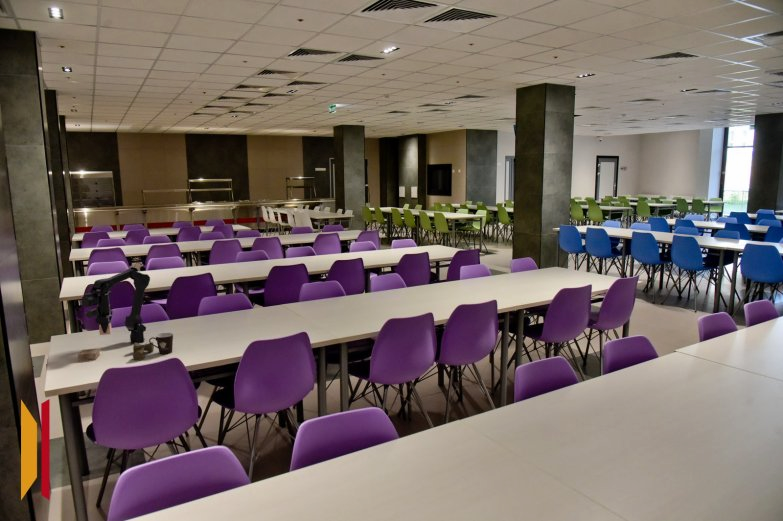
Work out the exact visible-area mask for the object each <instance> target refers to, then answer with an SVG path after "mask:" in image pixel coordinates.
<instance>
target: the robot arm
mask: <svg viewBox="0 0 783 521" xmlns="http://www.w3.org/2000/svg"><path fill="white" fill-rule="evenodd" d="M127 279H130V280H133V286H134V294H133V300H132V307H131V310H130V314H129V315H125V321H124V324H125V325H124V326H125V328H126V329H127V331H128V332H130V335H129V340H130V343H131V344H134V343H135V342H136V343H138V344H140V343H144V342H145V335H144V334H145V332H146V330H147V326H145V324H143V318H142V316H141V312H142V307H143V302H144V295H145V290H147V288H148V287H149V285H150V281H151V277H150V276H149V274H146V273H142V272H140V271H138V270H135V269H129V268H128V269H126V270H124V271H122V272H119V273H117V274H115V275H113V276H110V277H105V278H100V279H97V280H95V281H94V283H93V285H92V288H91V289H90V291H89V293H84V294H83V296H82V298H81V301H80V302H81V305H82V307H83V308H89V307H94V306H96V307H95V308H92V309H89V310H87V311H86V312H85V317H86V318H87V319H90V318H93V317H94V316H95V319H94V323H95V324H99V325H101V327H102V330H103V333H106V331H107V328H108V325H109V323H112V322H111V321H112V319H113V315H114V310H113V309H111V308H110V307H111V303H110V295H112V294H113V292H112V291H111V290H110V289H112V288H113V287H114V286H115V285H116V284H117V285H118V284H119V283H121V282H123V281H126V280H127Z"/></svg>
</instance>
